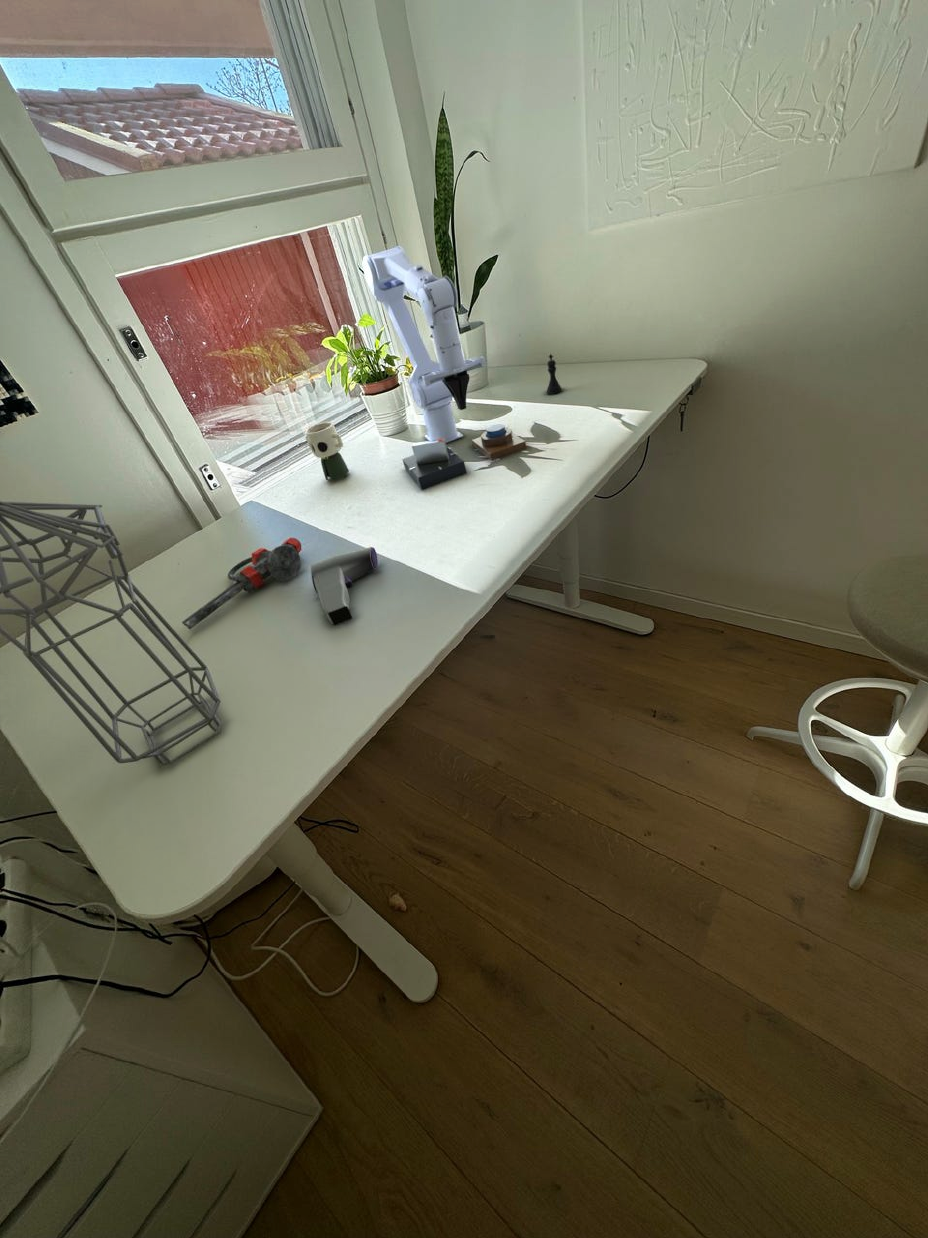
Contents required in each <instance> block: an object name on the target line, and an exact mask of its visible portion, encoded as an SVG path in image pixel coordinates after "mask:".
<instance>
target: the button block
mask: <svg viewBox="0 0 928 1238" xmlns="http://www.w3.org/2000/svg"><path fill="white" fill-rule="evenodd" d="M505 432H506V433H505V434H504V435H502V436H499V437H494V438H489V437H487V432H486V431H484V432H483V433H481V435H480V436H479V437H476V438H474V439H471V444H472V447H473V448H474V449H476V450H477V451H478V452H479V453H481V454H482V455H483V456H485V457H486V458H487V459H488V460H490V461H491V462H492V461H495V460H497V459H501V458H503V457H506V456H508V455H512V454H515V453H517V452H520V451H522V450H526V449H527V443H526V441H525V440H524V439H522V438H521V437H519V436H518V435H516V434H514V433H513V429H512V428H511V427H508V426H505Z"/></svg>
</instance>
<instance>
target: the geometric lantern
mask: <svg viewBox="0 0 928 1238" xmlns="http://www.w3.org/2000/svg"><path fill="white" fill-rule="evenodd" d="M102 507H103V504H85V503H84V504H83V503H57V502H56V503H55V502H54V503H53V502H24V501H23V502H22V501H21V502H20V501H19V502H18V501H0V535H1V537H2V538H3V540H5V542H6V543H7V544H4V545H2V546H0V553H1V552H2V553H3V552H6V551H8V550H12V551H13V552H14V553H15V555H16V556H17V557H6V556H2V555H1V554H0V595H2V594H3V597H4V598H6V599H9V598H10V600H12V601H14V602H15V603H16V604H17V605H18V606H21V607H22V608H3V607H0V615H14V616H16V617H19V618H23V619H25V635H24V636H25V637H24V644H23V643H21V641H19V640H18V639H17V638H15V636H14V635H12V634H11V633H10V632H8V631H7V630H6V629H5V628H3V627H2V626H1V625H0V635H2V636H3V637H5V638H6V639H7V640H8V641H10V643H12V644H13V645H14V646H15V647H17V648H18V649H19V650H20V651H21V652H22V654H23V655H24V656H25V657H26V658H27V660H28V661H29V662H30V663H31V665H33V667H34V668H35V669H36V670H37V671H38V672H39V673H40V675H41V676H42V677H43V678H44V679H45V680H46V682H47V683H48V684H49V686H51V687H52V688H53V690H54V691H55V692H56V694H58V696H59V697H60V698H61V699H62V700H63V702H64V703H65V704H66V705H67V706H68V707H69V708H70V710H71V711H72V712H73V713H74V714H75V715H76V717H77V718H78V719H79V720H80V721H81V723H83V725H84V726H85V727H86V728H87V729H88V731H89V732H90V733H91V734H92V736H94V737H95V739H96V740H97V741H98V742H99V743H100V744H101V746H102V747H103V748H104V749H105V751H107V753H108V754H109V755H110V756H111V757H112V758H113V760H114V761H115V762H116V763H118V764H127V763H134V762H139V761H141V760H143V759H149V758H154V759H155V760H156V761H157V762H158V763H159V765H160V766H161V767H164V766H169V765H172V764H174V763H175V762H176V761H178V760H180V759H181V758H183V757H185V756H186V755H188V754H190V753H191V752H192V751H194V750H195V749H197V748H199V747H200V746H202V745H203V744H205V743H207V742H208V741H209V740H211V739H212V738H214V737H216V736H217V735H219V734H220V732H221V730H222V727H223V725H222V723H221V722H220V719H219V718H218V716H217V714H216V713H217V710H218V708H219V706H220V704H221V699H220V697H219V694H218V691H217V688H216V686H215V683H214V681H213V678H212V676H211V673H210V671H209V668H208V666H207V665H206V664H205V663H204V662H203V660H201V658H200V657H199V656H198V655H197V653H195V652H194V650H193V649H192V648H191V647H190V646H189V645H188V644H187V642H186V641H184V639H183V638H182V637H181V636H180V634H179V633H177V631H176V630H175V629H174V628H173V627H172V626H171V624H169V622H168V621H167V620H166V619H165V617H163V615H162V614H161V613H160V612H159V611H158V610H157V609H156V608H155V606H153V604H151V602H150V601H149V600H148V599H147V597H146V596H145V595H144V594H143V593H142V592H141V591H140V590H139V589H138V587H137V586H136V585H135V584H134V583H133V582H132V579H131V575H130V574H129V572H128V569H127V566H126V564H125V561H124V558H123V555H124V553H123V552H122V551H121V550H120V545H121V543H120V541H119V539H118V538H117V536H116V534H115V532H114V531H113V529H112V528H111V526H110V524H108V523H106V521H105V517H104V515H103V512H102V509H101V508H102ZM63 510H64V511H69V510H70V511H73V512H71V513H69V515H67V516H63V515H57V514H51V513H45V512H41V511H63ZM88 510H89V511H90V510H91V511H92V510H93V511H94V514H95V517H96V518H95V519H96V521H91V520H85V517H86V514H87V512H88ZM8 519H9V520H12V521H14V522H17V523H20V524H22V525H25V526H28V527H31V528H33V529H36V530H39V531H41V532H43V533H46V534H44V535H40V536H39V537H35V538H27V536H25V534H23V533H22V532H21V531H20V530H19V529H18V528H17V527H15V526H14V525H13V524H12V523H11V522H10V521H9V520H8ZM85 526H86V527H85ZM5 527H6V528H5ZM89 527H90V528H89ZM91 527H92V528H96V529H92V528H91ZM6 529H8V530H9V531H10V532H11V533H13V534H14V535H15V537H17V538H19V539H20V540H18V541H15V539H13V537H12V536H11V534H10V533H9V532H8V531H7V530H6ZM78 534H81V535H85V536H89V537H93V539H94V540H100V541H101V542H102V543H98V542H95V541H92V540H90V539H87V538H85V537H82V536H81V535H78ZM54 537H58V538H59V539H60V541H61V543H62V545H63V547H64V549H63V550H62V551H60V552H56V553H53V554H50V555H46V556H44V555H43V554H42V552H41V550H40V549H39V547H38V545H37V544H39V543H42V542H44V541H47V540H50V539H52V538H54ZM73 544H77V545H79V546H82V547H85V549H84V550H82V551H80V552H78V553H77V554H75V555H73V556H71V555H69V553H70V552H71V551H72V550H71V548H72V546H73ZM26 545H28V546H32V548H33V550H34V552H35V553H36V555H37V557H38V558H32V557H31V558H30V557H27V556H26V554H25V553H24V551H23V550H22V549H21V547H22V546H26ZM98 548H100V549H103V548H105V551H106V552H107V554H108V555H109V557H110V559H112V560H113V559H114V560H117V561H118V563H119V566H120V569H121V572H122V574H119V573H116V571H115V569H114V565H113V564H114V563H113V562H112V560H108V562H107V563H108V565H109V568H110V571H111V574H109V573H107V572H104V571H103V570H100V569H98V568H96V567H94V566H92V565H89V564H88V563H89V561H91V559H92V557H93V556H94V555H95V553H96V552H97V550H98ZM63 557H65V558H66V560H65V561H63V562H61V563H60V564H57V565H56V566H54V567H53V568H51V569H49V570H48V571H45V568H44V563H46V562H50V561H53V560H56V559H60V558H63ZM4 563H21V564H23V565H24V567H25V568H26V569H27V570H28V571H29V573H30V574H31V575H32V576H27V577H24V578H22V579H19V580H16V581H13V582H11V583H9V580H8V577H7V573H6V569H5V565H4ZM75 563H77V566H76V567H75V568H74V569H73V571H72V573H71V574H70V575H69V577H68V578H67V580H66V581H65V582H64V584H63V585H62V586H61V588H60V589H59V590H58V591H57V589H55V588H54V587H53V586H52V585H50V584H49V583H48V582H47V580H48V579H49V578H51V577H53V576H54V575H56V574H58V573H60V572H61V571H63V570H65V569H67V568H68V567H71V565H73V564H75ZM34 564H37V568H36V567H35V566H34ZM85 567H86V568H87V569H90V570H91V571H95V572H96V573H98V574H100V575H103V576H105V577H106V578H103V579H101V580H98V581H97V582H94V583H92V584H90V585H88V586H86V587H83V588H82V589H79V590H77V591H74V592H72V593H71V594H69V593H67V592H68V591H69V589H70V588H71V586H72V585H73V584H74V582H75V581H76V579H77V578H78V576H79V575H80V574H81V573H82V571H83V570H84V568H85ZM34 580H35V581H36V582H37V583H39V589H40V597H41V603H39V604H38V605H36V606H34V607H33V608H31V607H30V606H28V605H27V604H26V603H25V602H24V601H22V600H21V599H19V598H18V597H17V596H16V595H15V594H13V593H12V592H11V590H14V589H17V588H19V587H22V586H25V585H27V584H31V583H32V582H34ZM110 580H113V582H114V586H115V588H116V592H117V594H118V598H119V602H120V605H121V608H119V609H118V610H117V609H113V608H111V607H108V606H105V605H101V604H99V603H96V602H92V601H90V600H87V599H84V598H82V597H78V595H81V594H83V593H86V592H88V591H89V590H91V589H93V588H95V587H98V586H100V585H103V584H104V583H106V582H109V581H110ZM125 583H126V584H125ZM121 589H122V591H124V593H125V594H126V595H127V597H128V598H129V599H130V600H131V602H130V603H129V602H128V603H126V604H125V601H124V597H123V594H122V591H121ZM47 590H48V591H49V592H51V593H52V594H53V596H51V597H50V598H47ZM136 596H137V597H138V598H139V600H141V601H142V603H144V605H145V606H146V607H147V608H148V609H149V611H150V612H152V613H153V615H154V616H155V617H156V618H157V619H158V620H159V622H160V623H162V625H163V626H164V627H165V628H166V629H167V630H168V632H170V633H171V635H172V636H173V637H174V638H175V639H176V640H177V641H178V642H179V643H180V645H181V646H182V647H183V648H184V649H185V650H186V651H187V652H188V653H189V655H190V656H191V657H192V658H193V659H194V660H195V662H196V663H197V664H198V665H199V666H189V664H188V662H187V661H186V660H185V659H184V658H183V656H182V655H181V654H180V652H179V651H178V650H177V648H176V647H175V646H174V645H173V644H172V643H171V641H170V640H169V638H168V637H167V636H166V635H165V633H164V632H163V631H162V630H161V628H160V627H159V626H158V624H157V623H156V622H155V620H153V618H152V617H151V616H150V614H149V612H147V611H146V609H145V607H143V605H142V604H141V603H140V602H139V600H138V599H137V598H136ZM67 600H69V601H72V602H76V603H79V604H81V605H85V606H88V607H91V608H94V609H97V610H99V611H103V612H106V613H109V614H112V616H110V617H107V618H105V619H103V620H101V621H99V622H97V623H95V624H92V625H90V626H88V627H86V628H83V629H82V630H80V631H78V632H75V633H73V634H72V635H71V633H69V631H68V630H67V629H66V628H65V627H64V626H63V624H62V623H61V622H60V621H59V620H58V618H56V616H55V615H54V614H53V613H52V612H51V611H50V610H49V609H50V608H52V607H54V606H57V605H59V604H61V603H63V602H65V601H67ZM129 610H130V611H131V612H132V613H133V614H134V615H135V616H136V617H137V618H138V620H139V621H140V622H141V623H142V624H143V625H144V626H145V628H147V629H148V631H149V632H150V633H151V634H152V635H153V636H154V637H155V638H156V639H157V641H159V643H160V644H161V645H162V646H163V647H164V648H165V649H166V650H167V652H168V653H169V654H170V655H171V656H172V657H173V658H174V660H176V661H177V663H178V664H179V665H180V666H181V667H182V668H183V669H184V670H182V671H180V672H178V673H177V674H175V675H174V674H173V673H172V671H170V670H169V668H167V666H166V665H165V664H164V663H163V662H162V661H161V659H159V657H158V656H157V655H156V654H155V652H153V651H152V650H151V648H150V647H149V646H148V644H146V642H145V641H144V640H143V639H142V638H141V637H140V636H139V635H138V633H137V631H135V630H134V629H133V628H132V627H131V626H130V625H129V623H127V621H126V620H125V619H124V618H123V616H124V614H125V613H126V612H127V611H129ZM43 614H45V615H46V616H47V618H48V619H49V620H50V621H51V622H52V623H53V624H54V626H55V627H56V628H57V629H58V630H59V631H60V633H61V634H62V635H63V637H65V638H63V639H61V640H59V641H55V642H54V640H53V639H52V638H51V637H50V636H49V634H47V632H46V631H45V630H44V629H43V628H42V626H41V625H40V624H39V622H38V621H36V619H38V617H40V616H41V615H43ZM114 620H117V621H118V622H119V623H120V625H121V626H122V627H123V628H124V629H125V631H127V633H128V634H129V635H130V636H131V637H132V639H133V640H135V642H136V643H137V644H138V645H139V647H140V648H142V650H143V651H144V652H145V653H146V654H147V655H148V656H149V658H150V659H151V660H152V661H153V662H154V663H155V664H156V665H157V666H158V667H159V669H160V670H161V671H162V672H163V673H164V674H165V675H166V676H167V678H168V679H166V680H164V681H162V682H160V683H158V684H157V685H155V686H152V687H151V688H149V689H147V690H146V691H144V692H141V693H140V694H138V695H136V696H135V697H134V698H131V699H130V700H127V699H126V698H125V696H124V695H123V694H122V693H121V692H120V691H119V690H118V689H117V687H116V686H115V685H114V684H113V682H112V681H111V680H110V679H109V678H108V677H107V676H106V675H105V673H104V672H103V671H102V670H101V669H100V667H99V666H98V665H97V664H96V663H95V661H94V660H93V659H92V658H91V657H90V655H89V654H87V652H86V651H85V650H84V649H83V647H82V646H81V645H80V644H79V643H78V642H77V640H76V639H75V638H78V637H80V636H82V635H85V634H86V633H89V632H90V631H92V630H95V629H97V628H99V627H100V626H101V627H102V626H104V625H105V624H107V623H109V622H111V621H114ZM31 626H32V627H33V628H34V629H35V630H36V631H37V632H38V634H39V635H40V636H41V637H42V639H43V640H44V641H45V642H46V643H47V644H48V646H46V647H44V648H41V649H39V650H37V651H34V650H32V643H31V639H32V638H31ZM67 642H69V643H70V644H71V645H72V646H73V648H74V649H75V650H76V651H77V652H78V653H79V655H80V656H81V657H82V658H83V659H84V660H85V661H86V662H87V663H88V665H89V666H90V667H91V668H92V669H93V670H94V672H96V674H97V675H98V676H99V677H100V678H101V680H103V682H104V683H105V684H106V685H107V687H108V688H109V689H110V690H111V691H112V692H113V693H114V695H115V696H116V697H117V698H118V699H119V700H120V701H121V703H122V705H121V707H119V708H118V710H117V711H116V712H115V713H113V712H112V710H111V709H110V708H109V707H108V705H107V704H106V703H105V702H104V701H103V699H102V698H101V697H100V695H99V694H98V693H97V692H96V691H95V690H94V688H92V686H91V685H90V683H88V681H87V680H86V679H85V678H84V677H83V676H82V674H81V673H80V672H79V670H77V668H76V667H75V666H74V665H73V663H72V662H71V661H70V659H68V658H67V656H66V655H65V654H64V652H63V651H62V650H61V649H60V648H59V646H61V645H63V644H65V643H67ZM50 650H53V651H54V653H55V654H56V655H57V656H58V657H59V658H60V660H61V661H62V662H63V663H64V664H65V666H66V667H67V668H68V669H69V670H70V672H71V673H72V674H73V675H74V676H75V678H76V679H77V680H78V681H79V682H80V683H81V685H82V686H83V687H84V688H85V689H86V691H87V692H88V693H89V694H90V695H91V697H92V698H93V699H94V700H95V701H96V703H97V704H98V705H99V706H100V708H101V709H102V710H103V711H104V712H105V713H106V715H107V716H108V717H109V719H110V720H111V723H112V728H111V726H109V725H108V723H106V722H105V721H104V719H102V718H101V716H100V715H98V714H97V712H96V711H95V710H94V709H93V708H92V707H91V706H90V705H89V704H88V703H87V702H86V701H85V700H84V699H83V698H82V697H81V696H80V695H79V694H78V692H76V690H74V688H72V687H71V685H70V684H69V683H68V682H67V681H66V680H65V679H64V678H63V677H62V675H60V674H59V673H58V672H57V671H56V670H55V669H54V668H53V667H52V666H51V665H50V664H49V662H47V661H46V659H44V658H43V656H42V654H44V653H46V652H48V651H50ZM199 671H200V672H201V671H202V672H203V674H202V678H200V677H199V676H198V675H197V674H196V672H199ZM186 674H188V678H189V686H190V692H191V693H189V692H188V690H187V689H186V688H185V687H184V686H183V684H181V682H180V681H179V680H178V679H179V678H180V677H183V676H184V675H186ZM206 679H207V682H208V685H209V687H210V688H209V687H208V685H206V684H205V680H206ZM194 681H195V682H196V683H197V684H198V685H199V687H198V690H197V692H195V689H194ZM170 683H173V684H174V685H175V686H176V688H177V689H178V690H179V691H180V692H181V693H182V694H183V695H184V697H183V698H181V699H179V700H177V701H176V702H175V703H173V704H171V705H170V706H168V707H167V708H166V709H164V710H162V711H160V712H159V713H157V714H156V715H154V716H152V717H151V718H150V719H146V718H145V717H143V715H142V714H141V713H139V712H138V710H136V709H135V708H134V707H133V706H132V705H133V704H134V703H136V702H137V701H139V700H142V699H143V698H145V697H146V696H148V695H150V694H152V693H154V692H155V691H157V690H160V689H161V688H163V687H164V686H167V685H168V684H170ZM60 686H61V687H62V688H63V689H64V690H65V691H66V692H67V693H66V692H65V691H64V690H63V689H62V688H61V687H60ZM202 690H203V691H204V692H205V693H206V694H207V695H208V697H210V698H211V700H213V701H214V705H213V706H211V704H210V702H209V701H208V700H206V699H205V698H204V696H203V695H202ZM67 694H69V695H70V696H71V697H72V698H73V699H74V701H76V702H77V703H78V704H79V705H80V707H81V708H82V709H83V710H84V711H85V712H86V713H87V714H88V715H89V716H90V717H91V718H92V719H93V720H94V721H95V722H96V723H97V724H98V725H99V726H100V727H101V728H102V729H103V730H104V731H105V732H106V733H107V734H108V736H110V737H111V738H112V739H113V740H114V748H115V749H113V748H112V746H111V745H110V744H109V743H108V742H107V740H106V739H105V738H104V736H103V735H101V733H100V732H99V731H98V730H97V729H96V728H95V726H94V725H93V724H92V723H91V722H90V721H89V719H88V717H86V716H85V715H84V714H83V712H82V711H81V710H80V708H79V707H78V706H77V705H76V704H75V703H74V702H73V700H72V699H71V697H69V696H68V695H67ZM196 696H197V697H198V699H199V700H200V701H199V700H198V699H197V697H196ZM186 700H188V701H189V702H190V703H191V704H192V705H190V706H189V707H187V708H185V709H183V710H182V711H180V712H179V713H177V714H175V715H173V716H172V717H171V718H168V719H167V720H165V721H164V722H162V723H161V724H158V725H157V726H156V727H154V726H153V725H152V723H151V722H153V721H155V720H156V719H157V718H159V717H161V716H162V715H164V714H165V713H167V712H168V711H170V710H172V709H174V708H175V707H176V706H178V705H180V704H181V703H183V702H185V701H186ZM201 705H203V707H204V708H203V707H202V706H201ZM127 708H128V709H129V710H130V711H131V712H132V713H133V714H134V715H136V716H137V718H139V719H140V720H141V721H142V722H143V723H144V724H143V725H142V724H139V723H135V722H133V721H129V720H125V719H122V718H119V716H121V714H122V713H123V712H124V711H125V710H126V709H127ZM193 708H195V709H196V710H197V711H198V712H199V714H201V715H202V717H203V719H201V720H199V721H198V722H196V723H194V724H192V725H191V726H189V727H186V728H185V729H183V730H182V731H180V732H178V733H176V734H174V735H173V736H171V737H169V738H167V739H166V740H164V741H162V742H160V743H158V744H156V742H155V739H154V737H153V736H154V735H155V733H156V731H158V729H159V730H160V729H161V728H162V727H164V726H165V725H168V724H169V723H171V722H172V721H174V720H176V719H178V718H179V717H180V716H182V715H184V714H185V713H187V712H188V711H190V710H192V709H193ZM212 721H213V722H214V723H215V725H216V726H217V728H216V727H215V726H214V725H213V723H212ZM118 722H120V723H123V724H126V725H130V726H132V727H136V728H139V729H141V732H142V733H143V736H144V739H145V741H146V743H147V746H148V748H149V749H147V750H146V751H144V752H142V753H140V754H139V755H137V754H136V753H135V751H133V749H132V748H131V747H129V746H128V744H127V743H126V742H125V741H124V740H123V739H122V738H121V737H120V734H119V725H118ZM147 726H148V727H149V729H150V730H151V733H150V732H149V731H148V730H147V729H146V727H147ZM207 726H208V727H209V728H210V729H211V730H212V731H213V733H212V734H210V735H209V736H207V737H206V738H204V739H203V740H201V741H200V742H198V743H196V744H195V745H193V746H191V747H190V748H189V749H187V750H186V751H184V752H182V753H181V754H179V755H178V756H176V757H175V758H173V759H170V758H169V757H168V756H167V755H166V754H165V753H166V752H167V751H169V750H170V749H172V748H173V747H176V746H177V745H178V744H180V743H181V742H183V741H184V740H186V739H188V738H190V737H191V736H193V735H194V734H196V733H197V732H199V731H201V730H203V728H206V727H207ZM165 746H166V747H165ZM164 747H165V748H164ZM162 748H163V749H162ZM121 749H123V750H124V751H125V752H126V753H127V754H128V756H130V757H126V758H122V757H123V756H122V750H121ZM160 749H161V750H160ZM159 750H160V751H159ZM163 759H164V760H163ZM164 761H165V762H164Z"/></svg>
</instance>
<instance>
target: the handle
mask: <svg viewBox="0 0 928 1238" xmlns="http://www.w3.org/2000/svg"><path fill="white" fill-rule="evenodd" d="M447 447H448V446H447V443H446V442H445V439H444V438H439V440H432V441H429V440H426V441H421V442H414V443H412V445H411V449H412V452H413V455H414V456H415V459H416V463H417V465H419V464H426V463H433V462H440V461H447V460H448V459H449V454H448V450H447Z"/></svg>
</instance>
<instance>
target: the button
mask: <svg viewBox="0 0 928 1238" xmlns="http://www.w3.org/2000/svg"><path fill="white" fill-rule="evenodd" d="M505 427H506V426H505V424H503V423H495V424H492V425H489V426H488V427H487V428H485V429H486V430H485V432H487V437H489V438H494V437H499V436H502V435H504V434H505V433H506V432H505Z"/></svg>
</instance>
